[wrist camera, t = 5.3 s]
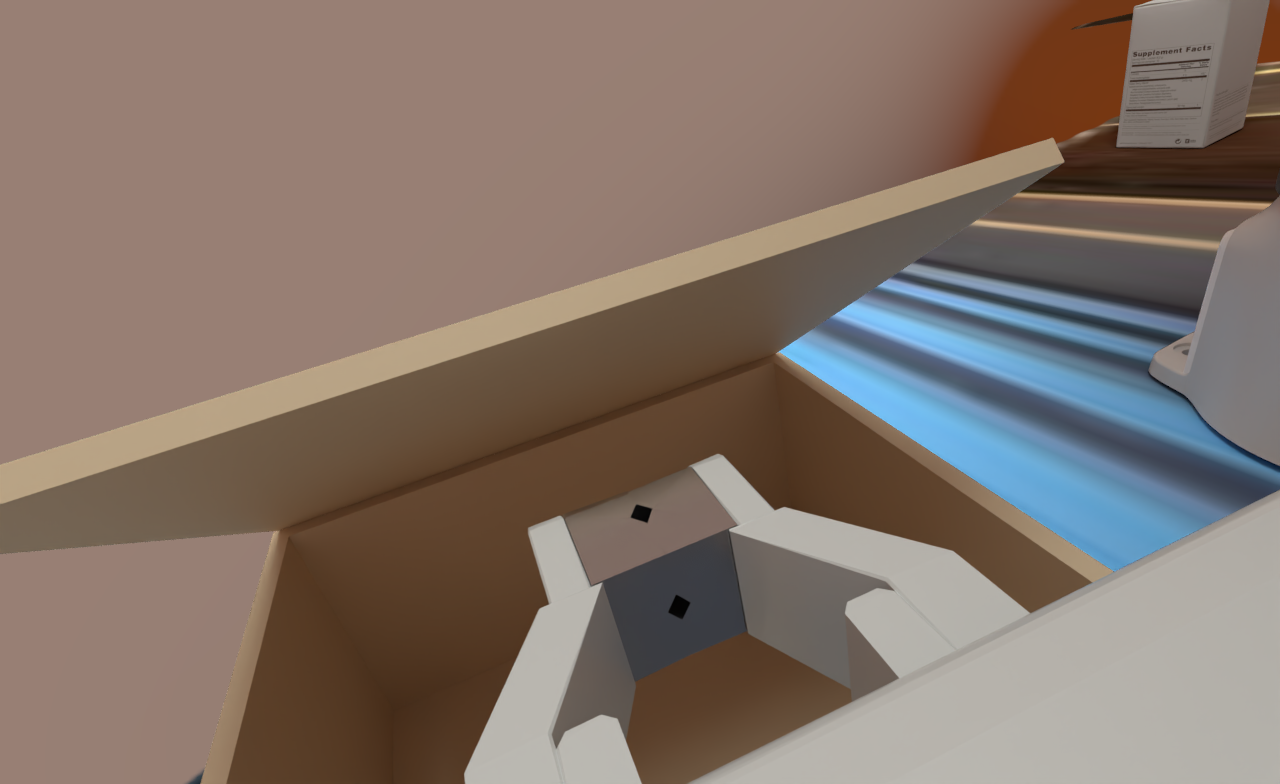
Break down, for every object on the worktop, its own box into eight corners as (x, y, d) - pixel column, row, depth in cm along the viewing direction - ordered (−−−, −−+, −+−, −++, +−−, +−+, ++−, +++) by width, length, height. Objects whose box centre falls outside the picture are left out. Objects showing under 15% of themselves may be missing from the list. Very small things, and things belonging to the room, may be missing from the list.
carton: (1123, 885, 17) (1197, 626, 13) (370, 1351, 13) (73, 1223, 9) (800, 536, 31) (779, 352, 26) (384, 713, 27) (273, 532, 22)
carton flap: (1064, 161, 12) (1050, 133, 12) (-210, 571, 8) (-220, 524, 8) (775, 353, 26) (769, 340, 26) (279, 530, 22) (274, 514, 23)
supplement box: (1154, 129, 80) (1176, -10, 73) (1245, 128, 73) (1279, -26, 66) (1112, 148, 77) (1131, 5, 70) (1202, 149, 69) (1234, -11, 62)
